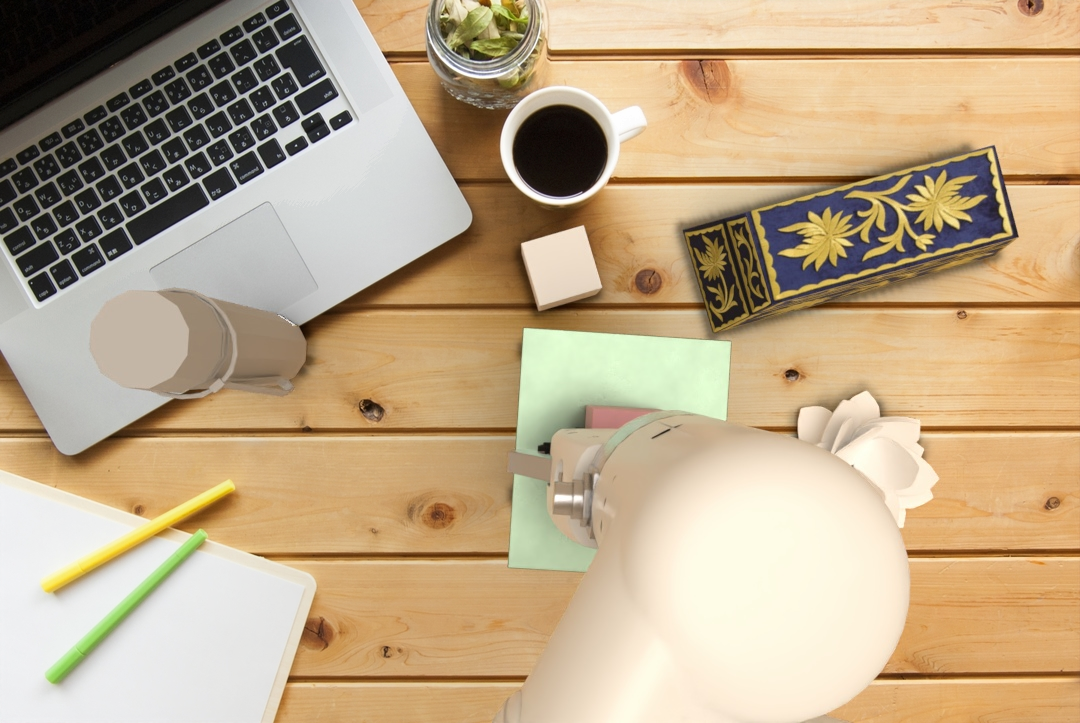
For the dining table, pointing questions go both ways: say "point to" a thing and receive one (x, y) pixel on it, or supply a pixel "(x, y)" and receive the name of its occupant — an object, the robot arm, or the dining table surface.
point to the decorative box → (852, 239)
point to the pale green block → (605, 380)
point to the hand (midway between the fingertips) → (621, 454)
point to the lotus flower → (874, 449)
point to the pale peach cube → (561, 268)
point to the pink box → (612, 416)
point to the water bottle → (194, 345)
